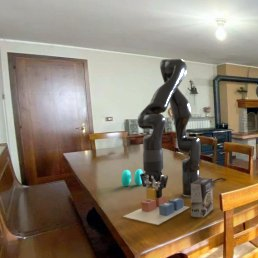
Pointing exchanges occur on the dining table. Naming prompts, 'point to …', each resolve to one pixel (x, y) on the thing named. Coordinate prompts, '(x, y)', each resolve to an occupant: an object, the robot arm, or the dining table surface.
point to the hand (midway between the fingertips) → (154, 196)
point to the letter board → (152, 215)
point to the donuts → (127, 177)
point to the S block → (151, 193)
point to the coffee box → (201, 197)
